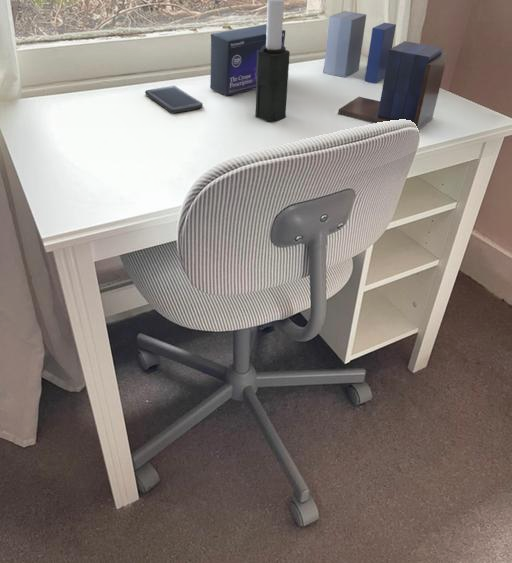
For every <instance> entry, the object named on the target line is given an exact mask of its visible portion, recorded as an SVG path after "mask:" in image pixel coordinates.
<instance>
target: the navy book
mask: <svg viewBox="0 0 512 563" xmlns="http://www.w3.org/2000/svg"><path fill="white" fill-rule="evenodd" d="M396 28H397V24H396V23H390V22H383V23H380V24H378V25H376V26H373V27H372V29H371V35H370V41H369V49H368V56H367V62H366V69H365V75H364V82H368V83H370V84H371V83H372V84H378V83H379V82H381V81H382V80H384V77H385V71H386V65H387V59H388V53H389V49H391V48H393V44H394V39H395V33H396Z"/></svg>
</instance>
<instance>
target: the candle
mask: <svg viewBox="0 0 512 563" xmlns="http://www.w3.org/2000/svg"><path fill="white" fill-rule="evenodd" d="M284 3H285V0H267V4H266V5H267V8H266V24H267V32H266V45H263V46H262V48H261V49H260V50H258V51H257V73H256V89H255V110H254V112H255V113H254V116H255V118H257V119H261V120H262V121H265V122H267V123H275V122H278V121H280V120H283V119H285V118H286V115H287V99H288V84H289V69H290V55H291V54H290V50H288V49H287V48H286V46H285V45H284V46H281V43H282V30H283V24H284V23H283V22H284V5H285V4H284Z"/></svg>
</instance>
